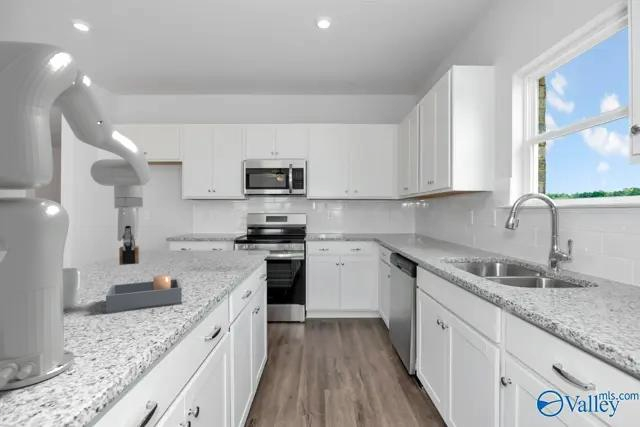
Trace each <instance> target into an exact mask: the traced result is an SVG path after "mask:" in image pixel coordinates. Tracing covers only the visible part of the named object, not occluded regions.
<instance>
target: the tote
mask: <svg viewBox="0 0 640 427" xmlns="http://www.w3.org/2000/svg"><path fill="white" fill-rule="evenodd" d="M182 290H183V289H182V286H181V282H180V279H179V278H173V279H172V278H171V288H170V289H161V290H153V281H152V280H151V281H141V282H130V283H121V284H112V285H111V286H110V288H109V290H108V292H107V294H106V295H105V314H106V313H108V314H114V313H113V312H115V313H123V312H129V311H130V310H131V311H136V310H143V309H144V310H146V309H152V308H160V307H167V306H175V305H182V303H183V302H182V300H183V299H182V296H183V294H182V292H183V291H182ZM122 311H123V312H122Z"/></svg>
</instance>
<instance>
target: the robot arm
mask: <svg viewBox="0 0 640 427" xmlns="http://www.w3.org/2000/svg"><path fill="white" fill-rule="evenodd" d="M53 107H54V108H57V109H58V110H59V111H60V112H61V114H62V116H63V117H64V119H65V120H66V123H67V125H68V126H69V128H70V129H71V132H72V133H73V135H74V136H75V138H76V139H77V140H79V141H80V142H82V143H85V144H87V145H90V146H92V147H95V148H97V149H101V150H103V151H107V152H110V153H112V154H115V155H117V156H118V157H120V159H119V158H117V159H116V158H115V159H113V158H112V159H110V158H108V159H103V158H102V159H98V160H97V161H95V162H93V163H92V165H91V167H90V176H91V179H93V181H94V182H95V183H97V184H99V185H101V186H106V187H107V186H108V187H113V196H114V198H113V199H114V200H113V201H114V204H113V205H114V209H118V210H117V238H116V239H117V241H118V242H121V241H122V247H123V251H122V252H123V264H127V265H135V264H134V263H135V250H134V246H136V240H137V239H138V234H139V209H144V207H143V206H144V205H143V202H144V201H143V200H144V197H143V195H144V194H143V191H144V190H143V186H144V185H145V186H146V185H147V184H148V183H149V181H150V179H151V169H150V166H149V163H148V160H147V158H146V155H145V153H144V150H143V149H142V148H141V146H140V145H139V144H138V143H137V142H136V141H135V140H134V139H132V138H131V137H130V136H128V135H127V134H126V133H125V132H123V131H121V130H120V129H118V128H116V127H115V126H114V125H113V123H112V121H111V118H110V117H109V115H108V113H107V110H106V107H105V106H104V103H103V102H102V99H101V98H100V95H99V93H98V91H97V88H96V85H95V84H94V82H93V80H92V78H91V77H90V76H89V75H88V74H87V73H86V72H85V71H83V70H80V69H78V68H77V63H76V60H75V58H74V56H73V55H72V54H71V53H70V52H69V50H66V49H64V48H62V47H60V46H58V45H53V44H49V43H42V42H28V41H18V40H17V41H16V40H15V41H13V40H12V41H11V40H10V41H9V40H0V191H1V190H2V191H3V190H4V191H14V190H15V191H22V190H24V191H25V190H37V189H38V190H39V189H42V188H44V187H46V186H48V185H49V184H50V183H51V182H52V180H53V178H54V177H53V176H54V157H53V146H52V136H51V127H50V126H51V124H50V122H51V120H50V118H51V116H50V114H51V109H52V108H53ZM121 158H122V159H121ZM69 227H70V217H69V214H68V211H67V210H66V209H65V208H64V206H63V205H62V204H60V203H59V202H56V201H54V200H51V199H48V198H44V197H43V198H42V197H32V196H31V197H29V196H26V197H25V196H23V197H20V196H19V197H15V196H14V197H13V196H10V197H9V196H7V197H4V196H3V197H0V252H6V253H5V255H4V256H3V258H2V259H1V260H0V391H7V390H12V389H14V390H15V389H18V388H23V387H26V386H27V387H28V386H31V385H34V384H37V383H41V382H42V381H46V380H48V379H51V378H53V377H55V376H57V375H59V374H61V373H63V372H65V371H66V370H68V369H69V368H70V367H71V366H72V365H74V362H75V354H74V352H72V351H69V350H65V333H64V331H65V327H64V326H65V323H64V322H65V321H64V318H65V317H64V316H65V315H64V309H63V268H64V252H65V248H66V241H67V237H68V233H69Z"/></svg>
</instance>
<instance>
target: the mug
mask: <svg viewBox="0 0 640 427" xmlns="http://www.w3.org/2000/svg"><path fill="white" fill-rule="evenodd" d="M80 272H81V271H80V270H78V268H75V267H63V310H66V309H71V308H73V307H74V306H76V304H77V303H78V301H79V296H78V295H79V293H78V292H79V291H78V290H79V289H80V276H81V275H80V274H81V273H80Z"/></svg>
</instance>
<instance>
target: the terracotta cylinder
mask: <svg viewBox="0 0 640 427" xmlns="http://www.w3.org/2000/svg"><path fill="white" fill-rule="evenodd" d="M152 279H153V290H161V289H170V288H171V279H172V277H171V275H169V274H163V275H156V276H153V277H152Z"/></svg>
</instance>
